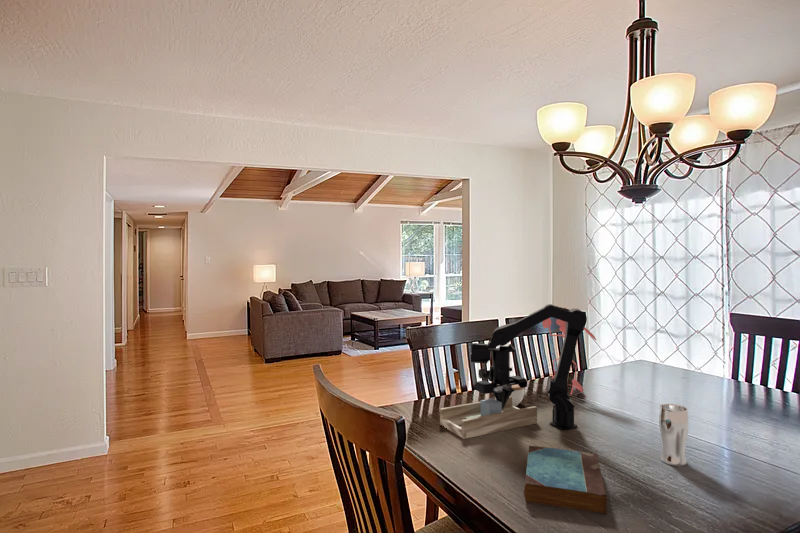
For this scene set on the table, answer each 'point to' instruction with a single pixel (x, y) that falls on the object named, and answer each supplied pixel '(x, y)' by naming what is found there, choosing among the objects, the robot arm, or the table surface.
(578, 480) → the book
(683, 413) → the beer glass
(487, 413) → the block
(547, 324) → the pink branch
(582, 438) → the table surface
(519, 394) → the lidded jar
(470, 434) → the tray
